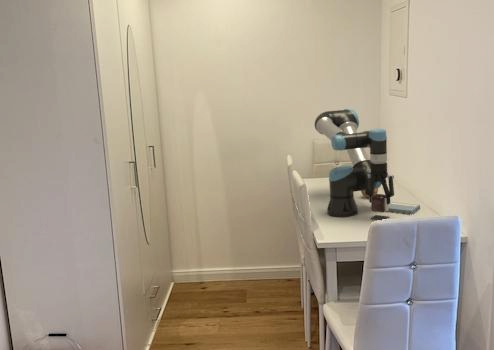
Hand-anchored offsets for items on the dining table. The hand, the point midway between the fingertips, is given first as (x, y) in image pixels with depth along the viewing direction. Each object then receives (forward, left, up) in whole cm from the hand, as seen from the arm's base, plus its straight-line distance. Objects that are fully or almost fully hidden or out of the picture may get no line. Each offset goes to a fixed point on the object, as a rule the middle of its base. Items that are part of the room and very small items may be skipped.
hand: (380, 209), depth 232 cm
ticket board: (+4, +17, -4) cm, 18 cm away
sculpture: (-20, +33, -4) cm, 38 cm away
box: (0, 0, 0) cm, 1 cm away
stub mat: (0, 0, -4) cm, 4 cm away
